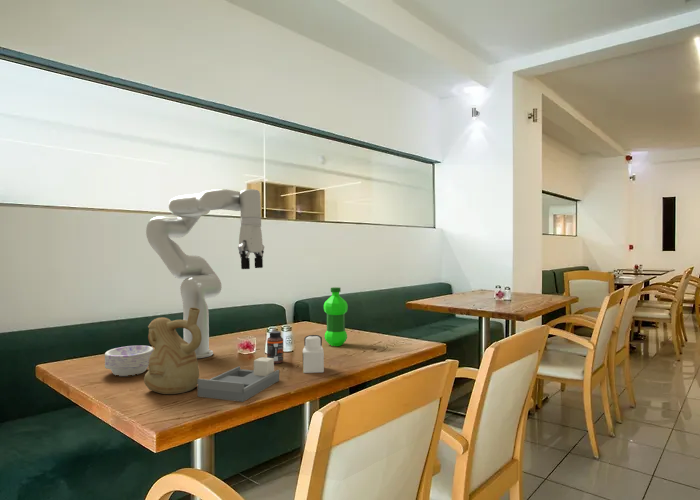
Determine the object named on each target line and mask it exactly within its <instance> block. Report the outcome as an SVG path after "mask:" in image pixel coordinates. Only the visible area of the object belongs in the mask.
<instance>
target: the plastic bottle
mask: <svg viewBox="0 0 700 500" xmlns="http://www.w3.org/2000/svg"><path fill="white" fill-rule="evenodd" d="M330 292H331V296H329V298H327V300H325V302H324V304H323V311H324V313H326V331H325V333H324V339H325V341H326V343H327V344H328V345H329V346H330V345H331V347H342V345H343V344H345V342H346V341H347V339H348V333H347V331H346V313H347V312H348V309H349V307H348V306H349V305H348V303H347V302H348V301H346V300H345V299H344V298H343V297H341V296H340V293H341V287H339V286H338V287H336V286H334V287H330Z"/></svg>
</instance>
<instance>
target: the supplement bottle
mask: <svg viewBox="0 0 700 500" xmlns="http://www.w3.org/2000/svg"><path fill="white" fill-rule="evenodd" d="M266 346H267V347H266V350H267V351H266V353H267V354H266V358H274V365H275V364H282V363H283V362H284V338H283V337H282V336H281V331H279V330H274V331H270V332H269V337H268V338H267V340H266Z"/></svg>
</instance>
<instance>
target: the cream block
mask: <svg viewBox="0 0 700 500" xmlns="http://www.w3.org/2000/svg"><path fill="white" fill-rule="evenodd" d="M253 370H254V375H259V376H267V375H269V374H271V373H272V372H274V371H275V364H274V358H267V357H263V356H262V357H261V356H260V357H258V358H256V359H253Z"/></svg>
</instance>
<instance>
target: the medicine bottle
mask: <svg viewBox="0 0 700 500" xmlns="http://www.w3.org/2000/svg"><path fill="white" fill-rule="evenodd" d="M303 341H304V345H303V346H304V347H303V348H302V373H303V374H313V373H314V374H316V373H324V372H325V360H324V359H325V356H324V355H325V354H324V348H323V338H322V335H321V336H320V335H318V334H310V335H306V336H305V337H304V338H303Z"/></svg>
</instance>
